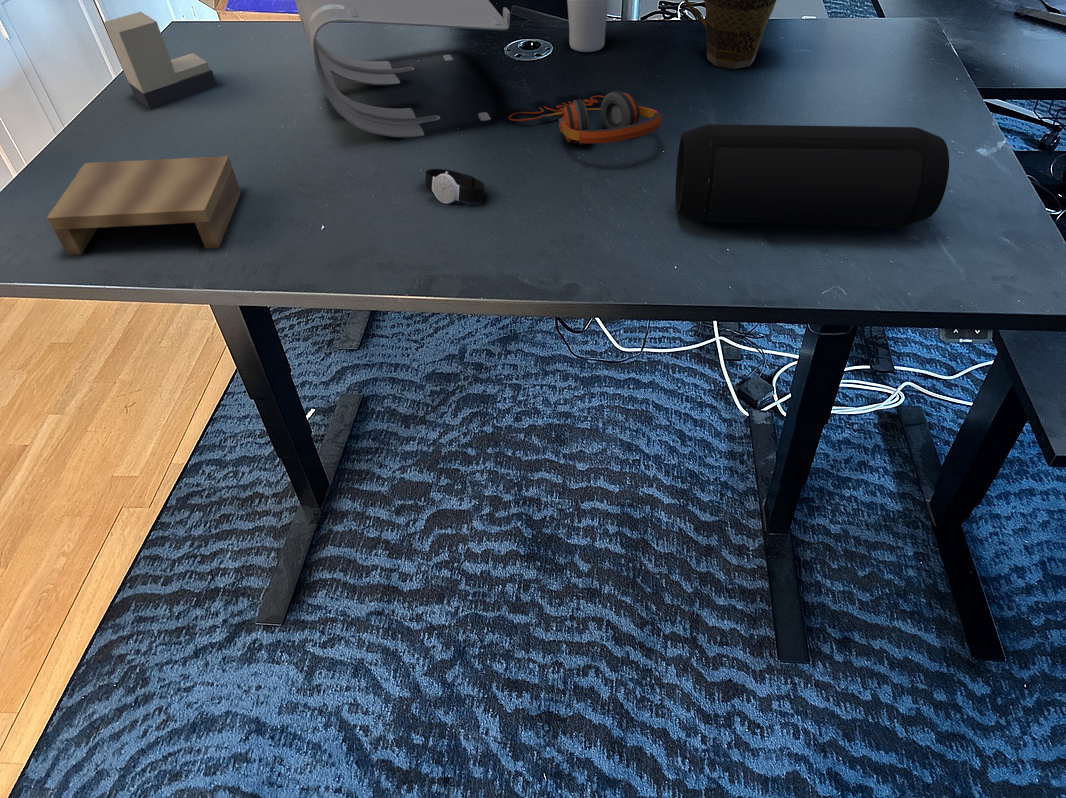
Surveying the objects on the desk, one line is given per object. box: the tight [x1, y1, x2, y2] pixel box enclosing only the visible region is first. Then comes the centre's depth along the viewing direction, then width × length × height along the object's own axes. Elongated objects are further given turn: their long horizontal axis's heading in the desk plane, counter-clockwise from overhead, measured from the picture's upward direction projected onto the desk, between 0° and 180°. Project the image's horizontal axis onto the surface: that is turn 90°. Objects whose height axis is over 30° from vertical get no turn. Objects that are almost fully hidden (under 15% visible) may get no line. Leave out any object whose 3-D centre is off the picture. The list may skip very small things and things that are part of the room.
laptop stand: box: [294, 0, 511, 139], centre depth 101 cm, size 26×24×16 cm
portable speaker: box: [674, 123, 950, 228], centre depth 80 cm, size 26×10×10 cm, turn 85°
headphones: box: [508, 90, 663, 147], centre depth 96 cm, size 17×5×20 cm
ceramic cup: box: [684, 0, 777, 70], centre depth 109 cm, size 13×10×10 cm
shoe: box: [103, 11, 218, 110], centre depth 105 cm, size 10×5×10 cm, turn 133°
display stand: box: [46, 155, 242, 256], centre depth 84 cm, size 16×11×5 cm
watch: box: [425, 168, 486, 204], centre depth 87 cm, size 8×5×4 cm, turn 56°
